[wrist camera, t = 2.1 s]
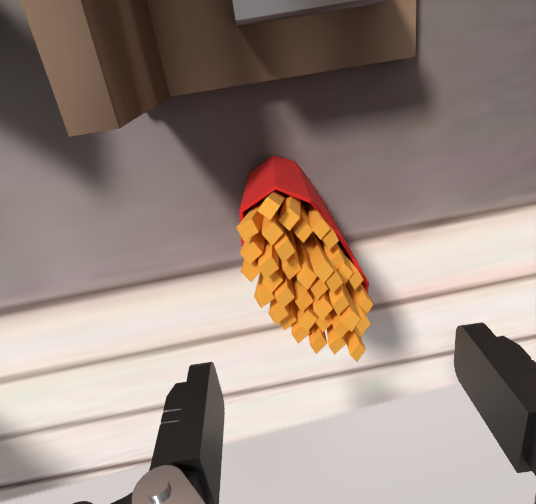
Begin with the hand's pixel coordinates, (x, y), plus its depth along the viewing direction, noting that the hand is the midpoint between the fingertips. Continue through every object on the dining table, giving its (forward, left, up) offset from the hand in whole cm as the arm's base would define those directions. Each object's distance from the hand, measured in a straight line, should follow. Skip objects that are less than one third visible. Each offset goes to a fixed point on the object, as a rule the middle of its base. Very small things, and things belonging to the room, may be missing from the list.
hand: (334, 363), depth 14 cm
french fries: (0, 0, -17) cm, 17 cm away
